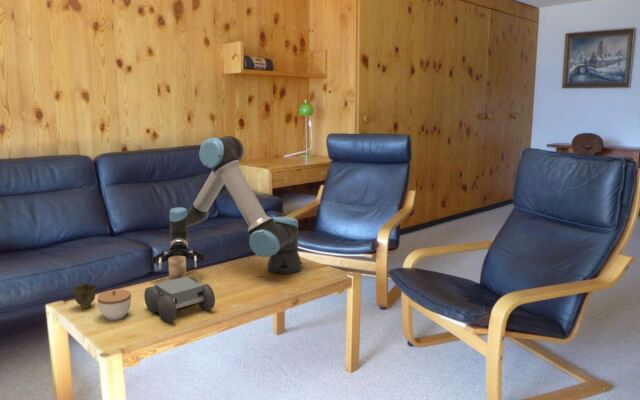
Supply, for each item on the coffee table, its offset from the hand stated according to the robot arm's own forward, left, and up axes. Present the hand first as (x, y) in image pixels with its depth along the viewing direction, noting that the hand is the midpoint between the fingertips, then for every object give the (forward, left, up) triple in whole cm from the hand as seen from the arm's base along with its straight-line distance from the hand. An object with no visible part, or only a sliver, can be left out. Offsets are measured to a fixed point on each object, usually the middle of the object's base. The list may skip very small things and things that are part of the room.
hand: (177, 265), depth 206 cm
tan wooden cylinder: (+3, +5, -9) cm, 11 cm away
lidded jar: (+29, +10, -9) cm, 32 cm away
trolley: (+10, +20, -9) cm, 24 cm away
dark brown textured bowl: (+34, -4, -9) cm, 36 cm away
